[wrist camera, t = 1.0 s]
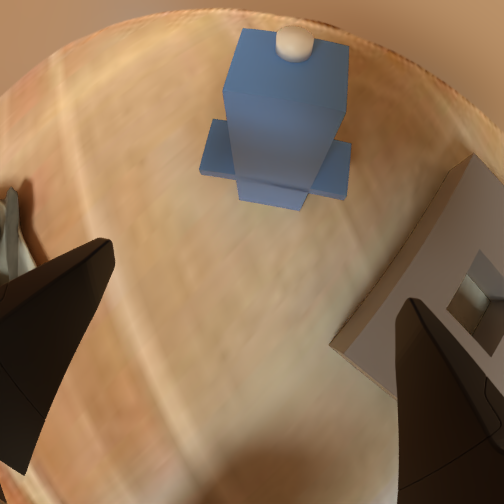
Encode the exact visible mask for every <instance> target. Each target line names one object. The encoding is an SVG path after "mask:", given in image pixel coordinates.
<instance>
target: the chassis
mask: <svg viewBox="0 0 504 504" xmlns="http://www.w3.org/2000/svg"><path fill="white" fill-rule="evenodd" d="M466 274H467V275H468V276H469V277H470V278H471V279H472V280H473V281H474V282H475V283H476V285H477V286H478V287H479V288H480V289H481V290H482V291H483V293H484V294H485V295H486V296H487V297H488V298H489V300H490V301H491V302H490V304H489V306H488V308H487V310H486V312H485V314H484V315H483V317H482V319H481V321H480V323H479V324H478V326H477V328H476V330H475V332H474V333H473V335H472V336H471V335H470V334H469V333H468V332H467V331H466V330H465V328H464V327H463V326H462V325H461V324H460V323H459V322H458V321H457V320H456V319H455V318H454V317H453V316H452V315H451V314H450V313H449V312H448V311H447V310H446V308H447V307H448V305H449V303H450V302H451V300H452V298H453V297H454V295H455V293H456V292H457V290H458V288H459V286H460V285H461V283H462V281H463V279H464V277H465V276H466ZM409 297H412V298H418V299H421V300H422V301H423V302H424V304H425V305H426V306H427V307H428V308H429V309H430V310H431V311H432V312H433V313H434V314H435V316H436V317H437V318H438V319H439V320H440V321H441V322H442V323H443V324H444V326H445V327H446V328H447V329H448V330H449V331H450V332H451V333H452V335H453V336H454V337H455V338H456V339H457V340H458V342H459V343H460V344H461V345H462V346H463V347H464V349H465V350H466V351H467V352H468V353H469V354H470V356H471V357H472V358H473V359H474V360H475V362H476V363H477V364H478V365H479V367H480V368H481V369H482V370H483V371H484V373H485V374H486V376H488V378H489V379H490V380H491V381H492V383H493V384H494V385H495V386H496V388H497V389H498V390H499V391H500V393H501V394H502V395H503V396H504V185H503V184H502V183H501V182H500V181H499V180H498V179H497V177H496V176H495V175H494V174H493V173H492V172H491V171H490V170H489V168H488V167H487V166H486V165H485V164H484V163H483V162H482V161H481V160H480V159H479V158H478V157H477V156H476V155H475V154H474V153H473V154H472V155H471V156H469V157H468V158H466V159H465V160H464V161H462V162H461V163H460V164H458V165H457V166H456V167H454V168H453V169H452V170H450V171H449V173H448V175H447V176H446V178H445V180H444V182H443V183H442V185H441V187H440V188H439V190H438V192H437V193H436V195H435V197H434V198H433V200H432V202H431V203H430V205H429V207H428V208H427V210H426V212H425V213H424V215H423V216H422V218H421V220H420V221H419V223H418V224H417V226H416V227H415V229H414V230H413V232H412V233H411V235H410V237H409V238H408V240H407V241H406V243H405V244H404V246H403V247H402V248H401V250H400V251H399V253H398V254H397V256H396V257H395V259H394V260H393V262H392V263H391V264H390V266H389V267H388V269H387V270H386V272H385V273H384V274H383V276H382V277H381V279H380V280H379V281H378V283H377V284H376V285H375V287H374V288H373V289H372V291H371V292H370V293H369V295H368V296H367V297H366V299H365V300H364V301H363V303H362V304H361V305H360V307H359V308H358V309H357V311H356V312H355V313H354V314H353V316H352V317H351V318H350V320H349V321H348V322H347V323H346V325H345V326H344V327H343V328H342V330H341V331H340V332H339V333H338V335H337V336H336V337H335V338H334V339H333V341H332V342H331V343H330V344H329V346H330V347H331V348H333V349H334V350H335V351H336V352H337V353H339V354H340V355H341V356H342V357H343V358H345V359H346V360H347V361H348V362H350V363H351V364H352V365H353V366H354V367H356V368H357V369H358V370H359V371H361V372H362V373H363V374H364V375H365V376H367V377H368V378H369V379H370V380H372V381H373V382H374V383H375V384H377V385H378V386H379V387H380V388H381V389H383V390H384V391H385V392H386V393H388V394H389V395H390V396H391V397H393V398H394V399H395V400H396V401H397V387H396V374H395V320H396V317H397V315H398V313H399V311H400V309H401V308H402V306H403V304H404V302H405V301H406V299H407V298H409Z"/></svg>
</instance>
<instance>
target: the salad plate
mask: <svg viewBox="0 0 504 504" xmlns="http://www.w3.org/2000/svg"><path fill="white" fill-rule="evenodd" d="M36 267H37V266H36V263H35V261H34V259H33V257H32V255H31V253H30V251H29V249H28V247H27V245H26V242H25V240H24V238H23V234H22V231H21V227H20V214H19V204H18V194H17V191H15V190H14V189H13V188H12V187H10V189H9V190H8V191H7V195H6V198H5V199H1V200H0V286H1V285H3V284H5V283H7V282H8V283H9V281H11V280H13V279H15V278H17V277H19V276H20V275H22V274H24V273H26V272H28V271H30V270H32V269H34V268H36Z"/></svg>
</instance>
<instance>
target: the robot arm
mask: <svg viewBox="0 0 504 504" xmlns="http://www.w3.org/2000/svg"><path fill="white" fill-rule="evenodd" d="M114 267H115V257H114V250H113V244H112V241H111V240H110V239H105V238H97V239H95V240H92V241H90V242H88V243H86V244H84V245H82V246H79V247H77V248H75V249H73V250H71V251H69V252H67V253H65V254H63V255H60V256H58V257H56V258H54V259H52V260H50V261H48V262H46V263H44V264H42V265H40V266H38V267H36V268H34V269H32V270H30V271H28V272H26V273H24V274H22V275H20V276H19V277H17V278H15V279H13V280H11V281H9V283H8V282H7V283H5V284H3V285H1V286H0V461H2V462H3V463H5V464H6V465H8V466H9V467H11V468H12V469H14V470H16V471H17V472H19V473H20V474H22V475H24V476H25V474H26V471H27V468H28V465H29V463H30V460H31V457H32V454H33V451H34V448H35V446H36V443H37V440H38V438H39V435H40V432H41V430H42V427H43V425H44V422H45V419H46V417H47V414H48V412H49V410H50V407H51V405H52V402H53V400H54V398H55V395H56V393H57V391H58V388H59V386H60V384H61V382H62V379H63V377H64V375H65V373H66V371H67V369H68V366H69V364H70V362H71V360H72V358H73V356H74V354H75V352H76V350H77V348H78V346H79V344H80V341H81V339H82V337H83V335H84V333H85V332H86V330H87V328H88V326H89V324H90V322H91V320H92V318H93V316H94V314H95V312H96V310H97V308H98V306H99V304H100V301H101V299H102V296H103V294H104V291H105V289H106V287H107V284H108V282H109V279H110V277H111V275H112V272H113V270H114ZM395 374H396V387H397V403H398V428H399V478H398V499H397V504H504V396H503V395H502V394H501V393H500V391H499V390H498V389H497V388H496V386H495V385H494V384H493V383H492V381H491V380H490V379H489V378H488V376H486V374H485V373H484V371H483V370H482V369H481V368H480V367H479V365H478V364H477V363H476V362H475V360H474V359H473V358H472V357H471V356H470V354H469V353H468V352H467V351H466V350H465V349H464V347H463V346H462V345H461V344H460V343H459V342H458V340H457V339H456V338H455V337H454V336H453V335H452V333H451V332H450V331H449V330H448V329H447V328H446V327H445V326H444V324H443V323H442V322H441V321H440V320H439V319H438V318H437V317H436V316H435V314H434V313H433V312H432V311H431V310H430V309H429V308H428V307H427V306H426V305H425V304H424V302H423V301H422V300H421V299H418V298H412V297H409V298H407V299H406V301H405V302H404V304H403V306H402V308H401V309H400V311H399V313H398V315H397V317H396V320H395ZM6 503H7V502H6V499H5V496H4V493H3V491H2V488H1V485H0V504H6Z"/></svg>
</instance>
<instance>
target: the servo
mask: <svg viewBox="0 0 504 504" xmlns="http://www.w3.org/2000/svg"><path fill="white" fill-rule="evenodd" d="M348 66H349V46H346V45H342V44H338V43H333V42H329V41H324V40H320V39H315V38H314V37H313V35H312V33H311V32H310V31H308V30H307V29H305V28H302V27H299V26H286V27H283V28H281V29H280V30H279V31H278V32H272V31H264V30H256V29H246V28H243V29H242V32H241V35H240V38H239V41H238V44H237V47H236V50H235V53H234V56H233V59H232V62H231V65H230V68H229V71H228V75H227V78H226V81H225V84H224V87H223V98H224V104H225V111H226V117H227V121H226V120H218V119H213V120H212V124H211V127H210V131H209V134H208V138H207V142H206V145H205V149H204V153H203V156H202V160H201V164H200V168H199V171H200V173H201V175H208V176H214V177H221V178H227V179H233V180H236V182H237V188H238V195H239V200H243V201H248V202H254V203H260V204H265V205H271V206H276V207H282V208H287V209H292V210H297V211H300V209H301V207H302V205H303V203H304V201H305V199H306V197H307V195H308V193H311V194H316V195H321V196H325V197H330V198H335V199H340V200H344V199H345V198H346V196H347V189H348V178H349V168H350V156H351V143H347V142H343V141H338V140H334V137H335V135H336V133H337V131H338V129H339V127H340V124H341V122H342V120H343V118H344V116H345V114H346V106H347V89H348Z"/></svg>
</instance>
